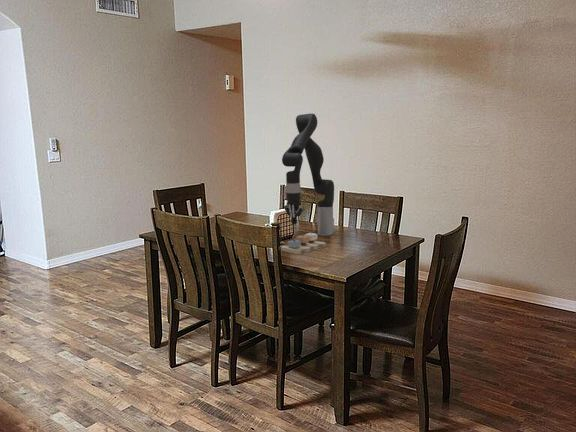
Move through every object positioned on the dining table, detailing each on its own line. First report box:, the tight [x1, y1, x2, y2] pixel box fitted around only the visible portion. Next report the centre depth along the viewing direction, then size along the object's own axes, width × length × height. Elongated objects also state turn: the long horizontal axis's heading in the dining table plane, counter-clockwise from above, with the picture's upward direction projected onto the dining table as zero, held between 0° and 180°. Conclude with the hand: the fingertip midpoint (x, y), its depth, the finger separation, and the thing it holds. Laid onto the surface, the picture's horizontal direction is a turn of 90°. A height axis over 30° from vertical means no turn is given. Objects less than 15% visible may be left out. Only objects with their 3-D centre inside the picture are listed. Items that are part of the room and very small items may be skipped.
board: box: [280, 240, 327, 255], centre depth 270 cm, size 22×14×4 cm, turn 138°
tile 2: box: [295, 234, 309, 243], centre depth 270 cm, size 5×5×3 cm
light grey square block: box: [304, 232, 319, 241], centre depth 275 cm, size 5×5×3 cm
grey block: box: [287, 239, 301, 248], centre depth 265 cm, size 5×5×3 cm
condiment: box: [270, 221, 286, 246], centre depth 281 cm, size 7×8×12 cm
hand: (294, 224), depth 263 cm, fingers closed
